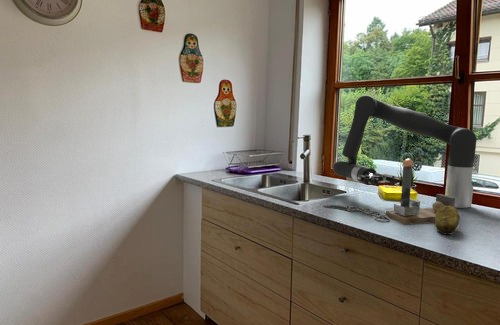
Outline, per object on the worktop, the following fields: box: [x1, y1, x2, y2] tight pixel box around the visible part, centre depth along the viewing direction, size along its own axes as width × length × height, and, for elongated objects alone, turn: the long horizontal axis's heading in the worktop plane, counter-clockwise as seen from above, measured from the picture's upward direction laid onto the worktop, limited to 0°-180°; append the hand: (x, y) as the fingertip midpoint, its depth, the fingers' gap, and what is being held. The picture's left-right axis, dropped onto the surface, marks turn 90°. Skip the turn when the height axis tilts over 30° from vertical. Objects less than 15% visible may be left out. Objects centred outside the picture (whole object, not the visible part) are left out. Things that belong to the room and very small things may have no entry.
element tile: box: [377, 184, 418, 202], centre depth 170 cm, size 15×15×5 cm
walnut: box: [431, 201, 444, 212], centre depth 137 cm, size 4×4×4 cm
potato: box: [434, 205, 461, 235], centre depth 121 cm, size 8×13×8 cm, turn 136°
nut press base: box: [384, 193, 455, 225], centre depth 135 cm, size 23×11×8 cm, turn 105°
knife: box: [322, 204, 392, 223], centre depth 142 cm, size 28×2×10 cm
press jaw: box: [392, 158, 421, 216], centre depth 132 cm, size 6×7×20 cm
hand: (387, 181), depth 143 cm, fingers open, 8 cm apart
